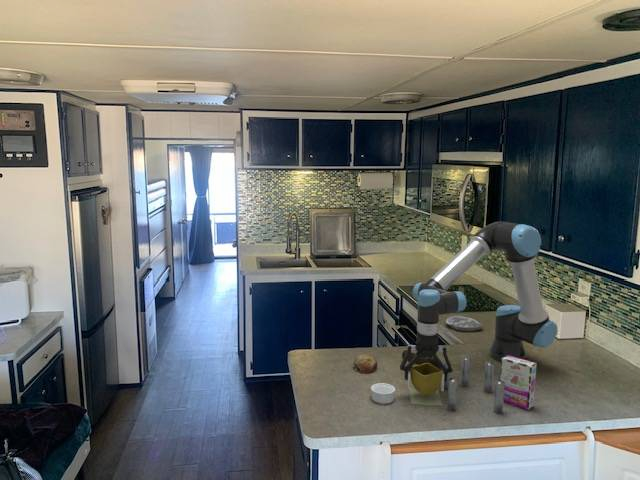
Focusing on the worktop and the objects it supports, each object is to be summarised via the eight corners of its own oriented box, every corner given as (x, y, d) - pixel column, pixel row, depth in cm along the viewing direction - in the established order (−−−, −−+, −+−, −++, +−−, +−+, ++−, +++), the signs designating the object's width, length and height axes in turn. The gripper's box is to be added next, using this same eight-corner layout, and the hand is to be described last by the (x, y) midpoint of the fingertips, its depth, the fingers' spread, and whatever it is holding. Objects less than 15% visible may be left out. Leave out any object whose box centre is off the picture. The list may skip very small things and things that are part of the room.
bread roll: (351, 375, 216) (346, 361, 212) (365, 359, 222) (360, 345, 218) (370, 382, 209) (365, 368, 205) (383, 365, 215) (379, 351, 211)
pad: (437, 389, 195) (437, 388, 195) (442, 406, 182) (442, 405, 182) (408, 388, 196) (408, 387, 196) (411, 404, 183) (411, 403, 183)
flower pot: (423, 399, 183) (424, 375, 181) (408, 389, 190) (409, 366, 189) (442, 394, 187) (443, 371, 185) (426, 384, 194) (427, 362, 193)
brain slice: (436, 325, 269) (437, 319, 268) (459, 319, 278) (459, 314, 278) (465, 336, 253) (466, 330, 252) (488, 330, 262) (488, 324, 261)
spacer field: (488, 384, 200) (490, 357, 198) (503, 414, 177) (505, 384, 175) (439, 381, 201) (440, 355, 200) (447, 411, 179) (448, 381, 177)
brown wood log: (401, 359, 224) (401, 349, 223) (406, 357, 227) (407, 347, 226) (436, 373, 210) (437, 363, 209) (442, 370, 213) (443, 360, 212)
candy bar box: (534, 406, 182) (537, 362, 180) (528, 411, 179) (531, 367, 176) (504, 395, 190) (507, 354, 187) (498, 400, 187) (501, 357, 184)
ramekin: (369, 393, 192) (370, 382, 191) (393, 393, 192) (393, 383, 191) (371, 404, 183) (371, 393, 182) (396, 405, 183) (396, 394, 182)
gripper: (394, 334, 182) (393, 391, 186) (462, 337, 180) (459, 395, 183) (393, 327, 189) (392, 382, 193) (459, 330, 187) (456, 385, 191)
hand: (425, 388), depth 188 cm, fingers closed on flower pot, 11 cm apart
